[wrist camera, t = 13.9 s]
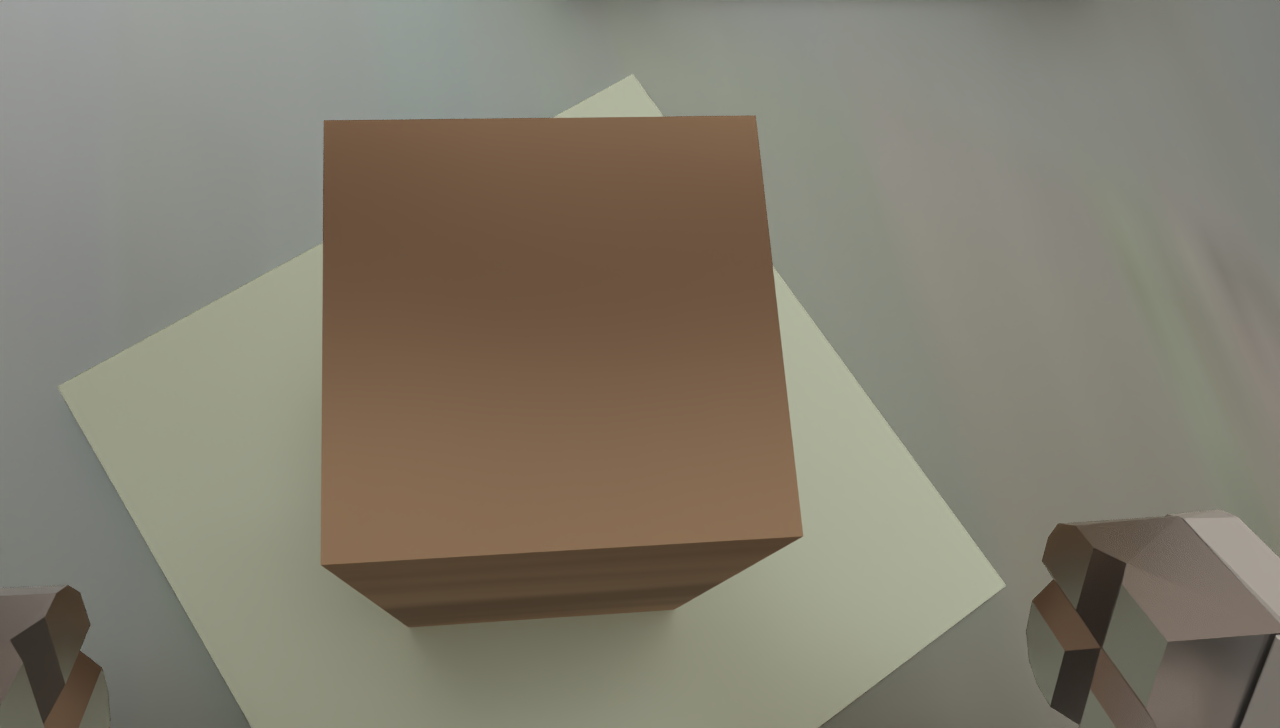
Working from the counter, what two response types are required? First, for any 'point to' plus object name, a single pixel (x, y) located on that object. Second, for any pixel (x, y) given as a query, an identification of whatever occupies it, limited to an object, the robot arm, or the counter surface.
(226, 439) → the pad
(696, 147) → the block
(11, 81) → the counter surface
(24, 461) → the counter surface
